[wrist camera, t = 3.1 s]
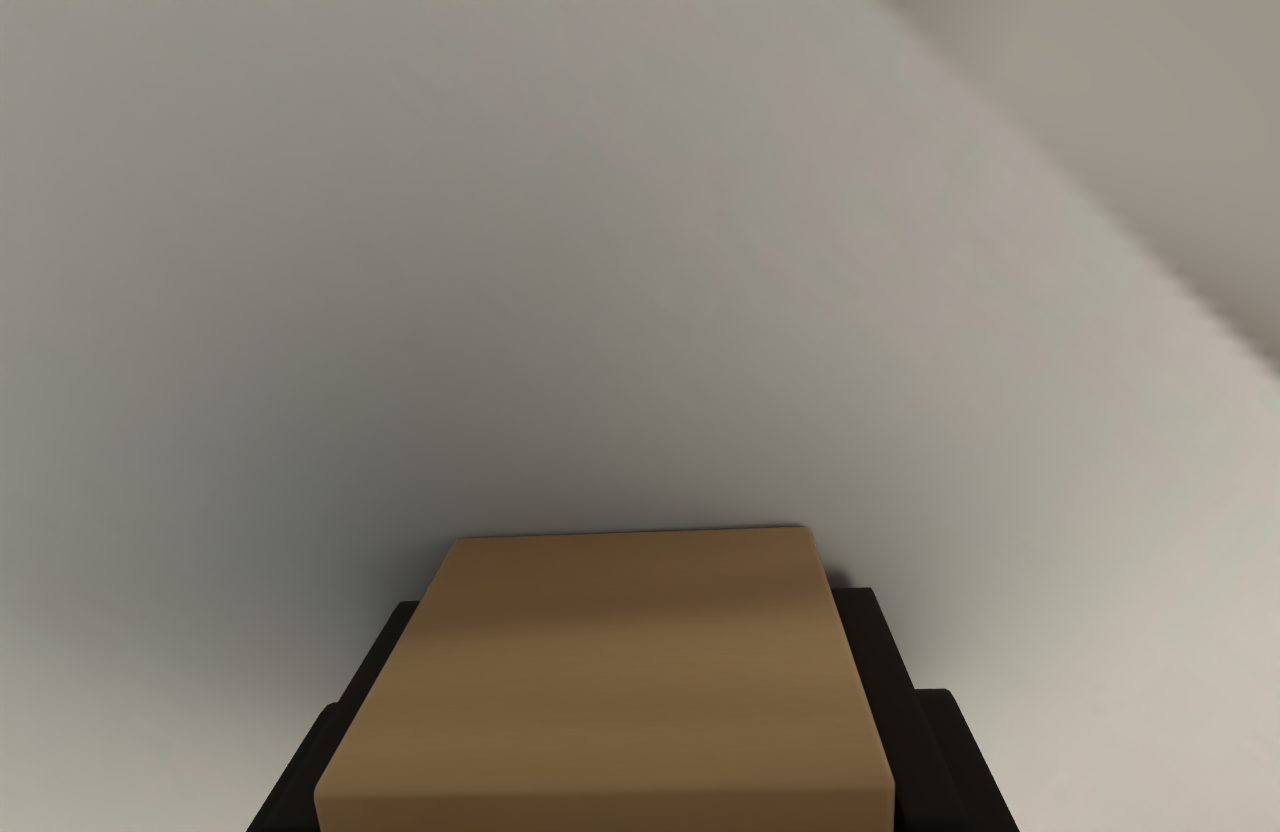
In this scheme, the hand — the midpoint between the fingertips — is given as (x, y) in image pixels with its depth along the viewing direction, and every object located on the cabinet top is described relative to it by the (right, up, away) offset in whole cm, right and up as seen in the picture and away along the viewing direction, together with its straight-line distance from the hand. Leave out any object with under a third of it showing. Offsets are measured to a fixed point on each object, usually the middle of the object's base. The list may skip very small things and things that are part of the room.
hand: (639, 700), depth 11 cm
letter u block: (0, 0, 0) cm, 0 cm away
